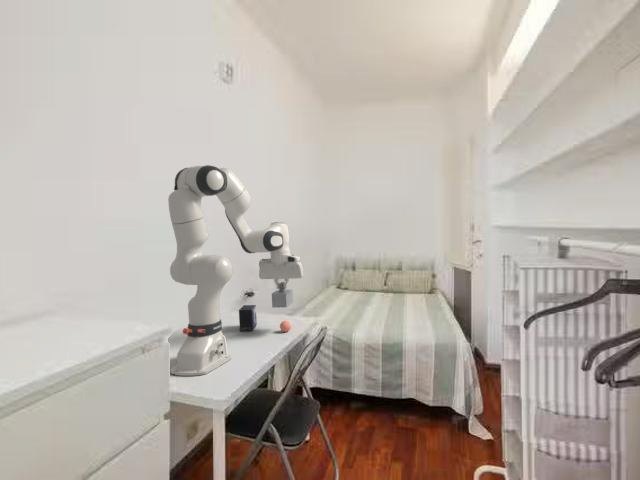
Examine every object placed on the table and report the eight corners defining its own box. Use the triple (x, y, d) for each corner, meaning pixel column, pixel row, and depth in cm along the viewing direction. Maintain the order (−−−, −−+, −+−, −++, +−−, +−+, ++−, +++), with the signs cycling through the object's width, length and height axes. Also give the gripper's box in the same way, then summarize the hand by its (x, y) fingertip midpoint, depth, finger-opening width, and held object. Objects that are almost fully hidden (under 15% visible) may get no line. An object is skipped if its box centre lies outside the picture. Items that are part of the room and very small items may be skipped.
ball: (289, 318, 166) (292, 323, 170) (279, 319, 167) (282, 323, 171) (288, 329, 163) (291, 333, 167) (277, 329, 164) (280, 333, 168)
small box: (253, 331, 171) (251, 309, 171) (239, 332, 171) (238, 310, 171) (257, 325, 182) (256, 304, 181) (244, 325, 182) (243, 305, 181)
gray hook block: (286, 307, 161) (285, 284, 161) (272, 307, 163) (271, 284, 162) (293, 302, 172) (292, 280, 172) (279, 302, 173) (278, 281, 173)
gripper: (256, 259, 165) (257, 290, 165) (300, 258, 161) (301, 289, 161) (261, 258, 171) (262, 287, 172) (303, 257, 167) (304, 287, 168)
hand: (281, 288), depth 166 cm, fingers closed on gray hook block
